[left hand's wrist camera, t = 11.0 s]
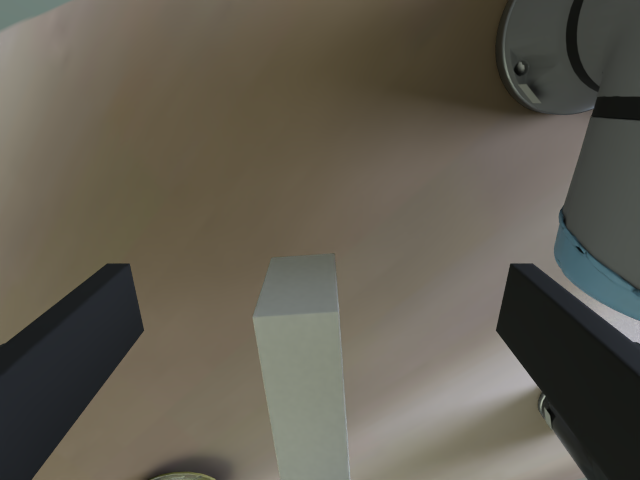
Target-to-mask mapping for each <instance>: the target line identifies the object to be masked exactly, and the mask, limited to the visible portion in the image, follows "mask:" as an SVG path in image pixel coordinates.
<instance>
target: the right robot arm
mask: <svg viewBox="0 0 640 480" xmlns="http://www.w3.org/2000/svg"><path fill="white" fill-rule="evenodd" d="M538 409H539V412H540V413H541V415H542V416H543V418H544V419H545V420H546V423H547V424H548V426H549V427H550V429H551V430H552V429H553V431H554V432H555V434H556V435H557V437H558V438H559V440H560V441H561V442H562V444H563V445H564V447H565V448H566V450H567V451H568V452H569V454H570V455H571V457H572V458H573V460H574V461H575V462H576V464H577V465H578V467H579V468H580V469H581V471H582V472H583V474H584V475H585V477H586V478H587V479H588V480H608V478H607V477H606V476H605V474H604V473H603V472H602V470H601V469H600V468H599V466H598V465H597V464H596V462H595V461H594V460H593V458H592V457H591V456H590V455H589V453H588V452H587V451H586V449H585V448H584V447H583V445H582V444H581V443H580V441H579V440H578V439H577V437H576V436H575V435H574V433H573V432H572V431H571V429H570V428H569V427H568V425H567V424H566V423H565V421H564V420H563V419H562V417H561V416H560V415H559V413H558V412H557V411H556V409H555V408H554V407H553V405H552V404H551V403H550V401H549V400H548V399H547V397H546V396H545V395H544V394H543V392H542V394H541V396H540V398H539V401H538Z"/></svg>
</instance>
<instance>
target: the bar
mask: <svg viewBox="0 0 640 480" xmlns="http://www.w3.org/2000/svg"><path fill="white" fill-rule="evenodd" d="M253 323H254V329H255V335H256V340H257V346H258V352H259V358H260V364H261V370H262V376H263V381H264V387H265V393H266V399H267V405H268V411H269V416H270V422H271V428H272V434H273V440H274V446H275V452H276V457H277V463H278V469H279V475H280V480H350V469H349V454H348V438H347V423H346V408H345V393H344V378H343V363H342V348H341V333H340V318H339V304H338V291H337V277H336V264H335V254H319V255H304V256H289V257H274V258H271V261H270V264H269V267H268V270H267V274H266V277H265V280H264V283H263V286H262V289H261V292H260V295H259V299H258V302H257V305H256V308H255V311H254V314H253Z"/></svg>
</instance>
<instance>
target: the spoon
mask: <svg viewBox="0 0 640 480" xmlns="http://www.w3.org/2000/svg"><path fill="white" fill-rule="evenodd" d="M148 480H216V479H214V478H212V477H210V476H207V475H204V474H200V473H194V472H172V473H167V474H162V475H159V476H156V477H153V478H151V479H148Z"/></svg>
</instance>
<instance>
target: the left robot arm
mask: <svg viewBox="0 0 640 480" xmlns="http://www.w3.org/2000/svg"><path fill="white" fill-rule="evenodd" d="M496 62H497V67H498V71H499V75H500V77H501V80H502V82H503V84H504V86H505V88H506V89H507V91H508V92H509V93H510V95H511V96H512V97H513V98H514V99H515V100H516V101H517V102H519V103H520V104H521V105H523V106H525V107H526V108H528V109H531V110H533V111H536V112H540V113H546V114H557V115H570V114H577V113H582V112H585V111H589V110H591V109H593V113H592V115H591V118H590V121H589V125H588V128H587V131H586V135H585V138H584V142H583V145H582V148H581V152H580V155H579V159H578V162H577V165H576V168H575V172H574V175H573V178H572V181H571V184H570V188H569V191H568V194H567V197H566V200H565V204H564V205H563V207H562V209H561V210H560V213H559V223H560V225H559V229H558V233H557V237H556V241H555V246H554V256H555V260H556V262H557V264H558V265H559V267H560V268H561V269H562V272H563V273H564V275H565V276H566V277H567V278H568V279H569V280H570V281H571V282H572V283H573V284H574V285H576V286H577V287H578V288H579V289H581V290H582V291H583V292H585V293H586V294H588V295H589V296H591V297H592V298H594V299H596V300H597V301H599V302H601V303H602V304H604V305H606V306H608V307H610V308H612V309H614V310H616V311H618V312H620V313H622V314H624V315H627V316H629V317H631V318H634V319H636V320H639V321H640V0H509V1H508V3H507V5H506V7H505V9H504V11H503V14H502V17H501V20H500V23H499V27H498V32H497V37H496ZM143 331H144V328H143V323H142V319H141V314H140V310H139V305H138V300H137V296H136V291H135V286H134V282H133V277H132V272H131V268H130V264H106V265H105V266H104V267H102V268H101V269H100V270H99V271H97V272H96V273H95V274H93V275H92V276H91V277H90V278H88V279H87V280H86V281H84V282H83V283H82V284H81V285H79V286H78V287H77V288H76V289H74V290H73V291H72V292H70V293H69V294H68V295H67V296H65V297H64V298H63V299H61V300H60V301H59V302H58V303H56V304H55V305H54V306H53V307H51V308H50V309H49V310H47V311H46V312H45V313H44V314H42V315H41V316H40V317H38V318H37V319H36V320H35V321H33V322H32V323H31V324H30V325H28V326H27V327H26V328H24V329H23V330H22V331H21V332H19V333H18V334H17V335H15V336H14V337H13V338H12V339H10V340H9V341H8V342H7V343H5V344H2V345H0V480H32V478H33V477H34V476H35V474H36V473H37V472H38V470H39V469H40V468H41V466H42V465H43V464H44V462H45V461H46V460H47V458H48V457H49V456H50V455H51V453H52V452H53V451H54V449H55V448H56V447H57V445H58V444H59V443H60V441H61V440H62V439H63V437H64V436H65V435H66V433H67V432H68V431H69V429H70V428H71V427H72V425H73V424H74V423H75V421H76V420H77V419H78V417H79V416H80V415H81V413H82V412H83V411H84V409H85V408H86V407H87V405H88V404H89V403H90V401H91V400H92V399H93V397H94V396H95V395H96V394H97V392H98V391H99V390H100V388H101V387H102V386H103V384H104V383H105V382H106V380H107V379H108V378H109V376H110V375H111V374H112V372H113V371H114V370H115V368H116V367H117V366H118V364H119V363H120V362H121V360H122V359H123V358H124V356H125V355H126V354H127V352H128V351H129V350H130V348H131V347H132V346H133V344H134V343H135V342H136V340H137V339H138V338H139V336H140V335H141V334H142V333H143ZM496 331H497V333H498V334H499V335H500V336H501V338H502V339H503V340H504V342H505V343H506V344H507V346H508V347H509V348H510V350H511V351H512V352H513V354H514V355H515V356H516V358H517V359H518V360H519V362H520V363H521V364H522V366H523V367H524V368H525V370H526V371H527V372H528V374H529V375H530V376H531V378H532V379H533V380H534V382H535V383H536V384H537V386H538V387H539V388H540V390H541V391H542V392H543V394H544V395H545V396H546V397H547V399H548V400H549V401H550V403H551V404H552V405H553V407H554V408H555V409H556V411H557V412H558V413H559V415H560V416H561V417H562V419H563V420H564V421H565V423H566V424H567V425H568V427H569V428H570V429H571V431H572V432H573V433H574V435H575V436H576V437H577V439H578V440H579V441H580V443H581V444H582V445H583V447H584V448H585V449H586V451H587V452H588V453H589V455H590V456H591V457H592V458H593V460H594V461H595V462H596V464H597V465H598V466H599V468H600V469H601V470H602V472H603V473H604V474H605V476H606V477H607V478H608V480H640V344H639V343H637V342H632V341H631V340H630V339H628V338H627V337H626V336H625V335H623V334H622V333H621V332H619V331H618V330H617V329H616V328H614V327H613V326H612V325H610V324H609V323H608V322H607V321H605V320H604V319H603V318H602V317H600V316H599V315H598V314H596V313H595V312H594V311H593V310H591V309H590V308H589V307H587V306H586V305H585V304H584V303H582V302H581V301H580V300H579V299H577V298H576V297H575V296H573V295H572V294H571V293H570V292H568V291H567V290H566V289H564V288H563V287H562V286H561V285H559V284H558V283H557V282H556V281H554V280H553V279H552V278H550V277H549V276H548V275H547V274H545V273H544V272H543V271H541V270H540V269H539V268H538V267H536V266H535V265H534V264H510V268H509V272H508V277H507V282H506V286H505V291H504V296H503V300H502V305H501V310H500V314H499V319H498V323H497V328H496Z"/></svg>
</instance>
